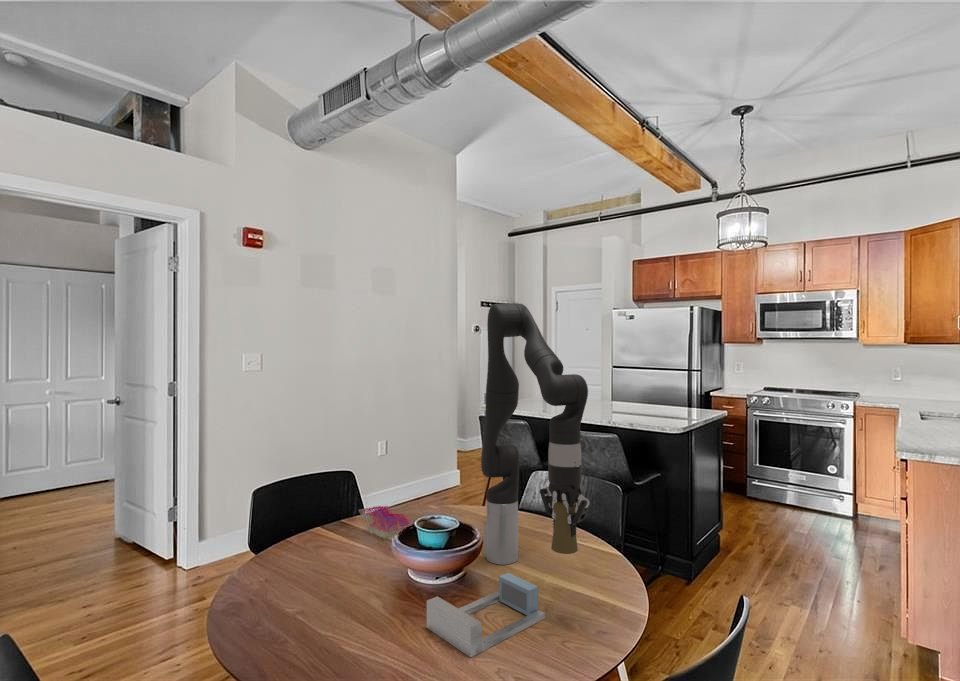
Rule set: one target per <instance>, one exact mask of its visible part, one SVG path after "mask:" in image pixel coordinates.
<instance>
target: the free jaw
mask: <svg viewBox="0 0 960 681" xmlns="http://www.w3.org/2000/svg"><path fill="white" fill-rule="evenodd" d="M498 583H499V584H498V585H499V586H498V591H499V601H498V602H500V603H503V604H505V605H506V606H508V607H510V608H512V609H514V610H515V611H518V612H519V613H521V614H524V615H526V616H527V615H529V614H531V613H533V612H535V611H537V610H539V586H538V585H536V584H534V583H532V582H529V581H527V580H524V579H522V578H521V577H518V576H516V575H514V574H512V573H510V572H507V573H503V574H502V575H499V577H498Z"/></svg>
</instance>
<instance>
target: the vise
mask: <svg viewBox="0 0 960 681" xmlns="http://www.w3.org/2000/svg"><path fill="white" fill-rule="evenodd" d="M497 602H500V601H499V590H497V591H495V592H493V593H490V594H488V595H486V596H484V597H482V598H479V599H476V600H474V601H472V602H470V603H468V604H465V605H463V606H461V607H456V606H454V605H453V604H452V603H449V602H448V601H447V600H444V599H442V598H441V597H439V596H438V595H437V596H435V597H432V598H429V599H427V600H426V628H427V630H429V631H431V632H432V633H434V634H435V635H436V636H438V637H440V638H441V639H442V640H444V641H445V642H446V643H449V644H450V645H451V646H453V647H454V648H456V649H457V650H458V651H460V652H462V653H463V654H465V655H466V656H467V657H469V659H470V658H473V657H475V656H477V655H478V654H480V653H482V652H484V651H486V650H488V649H490V648H492V647H493V646H495V645H498V644H499V643H501V642H503V641H504V640H505V641H506V640H507V639H508V638H511V637H512V636H514V635H516V634H518V633H520V632H522V631H524V630H526V629H527V628H530V627H531V626H534V625H536V624H537V623H539V622H541V621H543V620H545V619H546V613H545V612H544V611H541V610H539V609H538V610H537V611H535V612H533V613H531V614H529V615H526V616H524V617H521V618H519V619H518V620H516V621H514V622H511V623H509V624H508V625H505V626H503V627H502V628H499V629H498V630H496V631H494V632H492V633H489V634H488V635H486V636H484V637H482V634H483V633H482V632H483V629H482V628H483V626H482V624H483V623H482V621H481V620H479V619H477V618H475V617H473V616H471V614H473V613H476V612H478V611H480V610H482V609H484V608H486V607H489V606H491V605H493V604H495V603H497Z"/></svg>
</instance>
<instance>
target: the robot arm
mask: <svg viewBox="0 0 960 681" xmlns="http://www.w3.org/2000/svg"><path fill="white" fill-rule="evenodd" d="M486 322H487V323H486V324H487V374H486V386H485V387H486V388H485V411H484V412H485V415H484V416H485V420H484V431H483V439H482V448H481V457H480V460H481V461H480V467H481V472H482V474H483V476H484V477H486V478H504V479H503V480H502V481H500V482H499V483H497V484H495V485H493V486H491V487H490V488H488V489H487V490H486V523H485V524H484V527H483V528H484V529H483V530H484V532H483V533H484V534H483V537H484V538H483V539H484V541H483V542H484V543H483V544H484V546H483V547H484V548H483V549H484V550H483V551H484V554H483V556H484V557H485V558H486V560H487V561H488V562H490V563H492V564H496V565H500V566H501V565H511V564H514V563H515V562H517V561H518V560H519V479H520V478H519V477H520V476H519V475H520V454H519V449H518V447H517V446H516V445H515V444H497V441H498V439H499V436H500V434H501V431H502V429H503V428H504V426H505V425H506V424H507V422H508V421H509V420H510V418H512V415H513V414H514V412H515V411H516V409H517V407H518V404H519V390H520V389H519V388H520V384H519V383H520V382H519V379H518V377H517V374H516V373H515V371H514V369H513V367H512V366H511V364H510V362H509V361H508V358H507V356H506V353H505V347H504V345H505V343H504V340H505V338H513V337H514V338H515V337H516V338H517V337H522V338H523V339H524V340H525V341H526V342H525V346H524V351H523V352H524V353H523V356H524V360H525V362H526V365H527V366H528V367H529V369H530V370H531V371H532V373H533V374H534V376H535V378H536V379H537V383H538V386H539V389H540V395H541V396H542V399H543V401H544V402H545V403H547V404H549V405H550V406H553V407H563V406H564V408H563V409H564V410H563V411H562V413H560V414H557V415H554V416H552V417H551V418H550V420H549V426H548V427H549V434H548V435H549V436H548V437H549V442H548V451H547V452H548V453H547V458H548V461H547V464H548V465H547V467H548V468H547V472H548V473H547V474H548V476H547V479H548V482H549V484H548V486H547V487H542V488H540V489H539V493H540V498H541V501H542V502H543V503H542V504H543V507H544V509H545V513H546V515H550V516H551V517H552V520H553V521H552V523H553V531H554V524H555V516H556V515H555V513H554V511H553V506H554V504H555V503H557V502H558V501H560V502H563V504H564V505H565V506H566V508H567V513H568V514H569V516H568V518H567V520H568V524H570V527H571V537H572V538H573V537H576V538H577V524H578V523H582V522H584V521H585V518H586V517H587V514H588V511H589V509H590V507H591V504H592V499H591V498H589V497H588V498H586V497H585V496H584V495H583V492H582V489H581V483H582V448H581V424H582V419H583V415H584V411H585V408H586V404H587V400H588V397H589V388H588V384H587V382H586V379H585V378H584V377H583V376H582V375H580V374H575V373H572V374H563V372H564V365H563V362H562V361H561V359H559V358H560V357H558V356H557V355H556V353H555V352H554V351H553V350H552V349H551V347H550V346H549V344H548V343H547V342H546V340H545V339H544V336H543V335H542V333H541V331H540V328H539V327H538V325H537V322H536V321H535V319H534V316H533V315H532V313H531V311H530V310H529V308H528V307H527V306H526V305H524V304H523V303H518V302H516V303H515V302H514V303H513V302H511V303H509V302H508V303H494V304H492V305H491V306H490V308H489V310H488V313H487V321H486ZM574 505H575V506H576V508H575V514H574V516H573V517H572V513H571V511H570V508H569V506H570V507H572V506H574Z"/></svg>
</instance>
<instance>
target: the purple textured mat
mask: <svg viewBox="0 0 960 681" xmlns="http://www.w3.org/2000/svg"><path fill="white" fill-rule="evenodd" d="M358 512H359V514H360V516H361V517H362V518H361V519H362V520H365V522H368V523H366V524H364V525H363V526H364V529H365V530H366V531H367V533H370V535H372V534H374V536H379V537H378V538H379V539H381V538H382V539H383V540H384V541H385V540H387V538H393V537H392V536H393V534H394V533H395V532H396V531H397V530H400V531H401V528H405V527H404V526H406V525H407V526H408V524H410V523H411V521H410V519H409V518H408V517H407V516H406V514H405V513H393V512H392V511H391V509H390V507H389V506H388V505H384V506H383V505H382V506H380V505H377V506H373V507H369V508H362V509H358Z"/></svg>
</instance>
